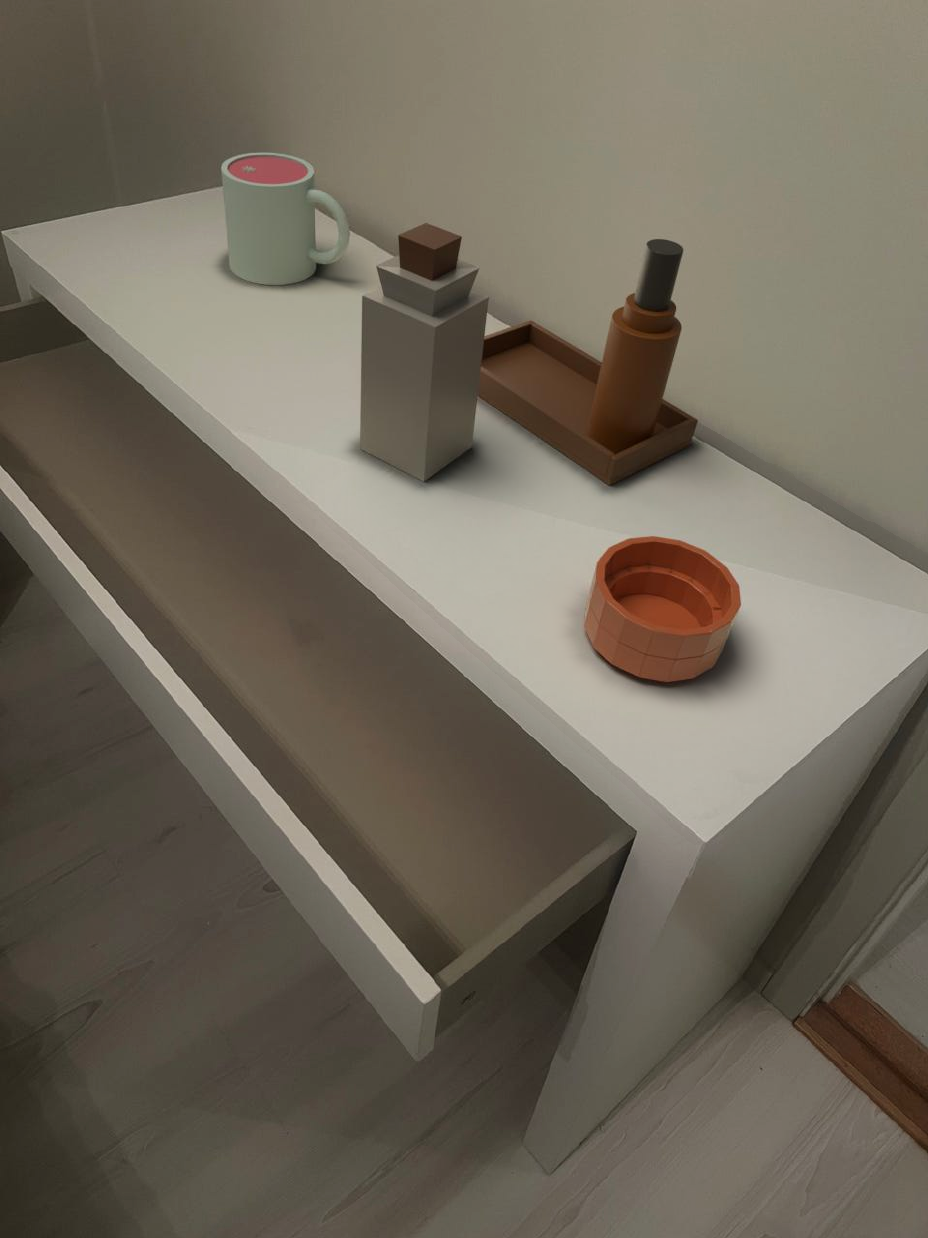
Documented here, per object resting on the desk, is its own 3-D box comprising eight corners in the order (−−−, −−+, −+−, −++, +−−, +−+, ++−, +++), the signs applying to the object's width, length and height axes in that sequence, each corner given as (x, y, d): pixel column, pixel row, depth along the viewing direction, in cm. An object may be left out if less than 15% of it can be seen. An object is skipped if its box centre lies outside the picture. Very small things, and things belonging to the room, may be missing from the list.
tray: (690, 444, 83) (698, 419, 81) (609, 485, 77) (615, 459, 76) (527, 343, 93) (530, 319, 92) (445, 373, 88) (447, 348, 86)
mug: (212, 270, 98) (202, 172, 92) (259, 240, 105) (253, 145, 98) (327, 304, 96) (326, 204, 89) (368, 270, 102) (370, 175, 95)
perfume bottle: (409, 416, 82) (421, 208, 69) (471, 446, 80) (495, 237, 67) (359, 448, 78) (363, 234, 65) (423, 481, 75) (439, 265, 63)
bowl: (715, 600, 68) (735, 548, 65) (722, 698, 61) (745, 646, 58) (586, 579, 69) (599, 526, 65) (579, 674, 62) (593, 620, 58)
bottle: (649, 426, 83) (700, 237, 72) (649, 461, 79) (703, 267, 68) (588, 416, 84) (628, 226, 72) (585, 450, 80) (627, 256, 68)
